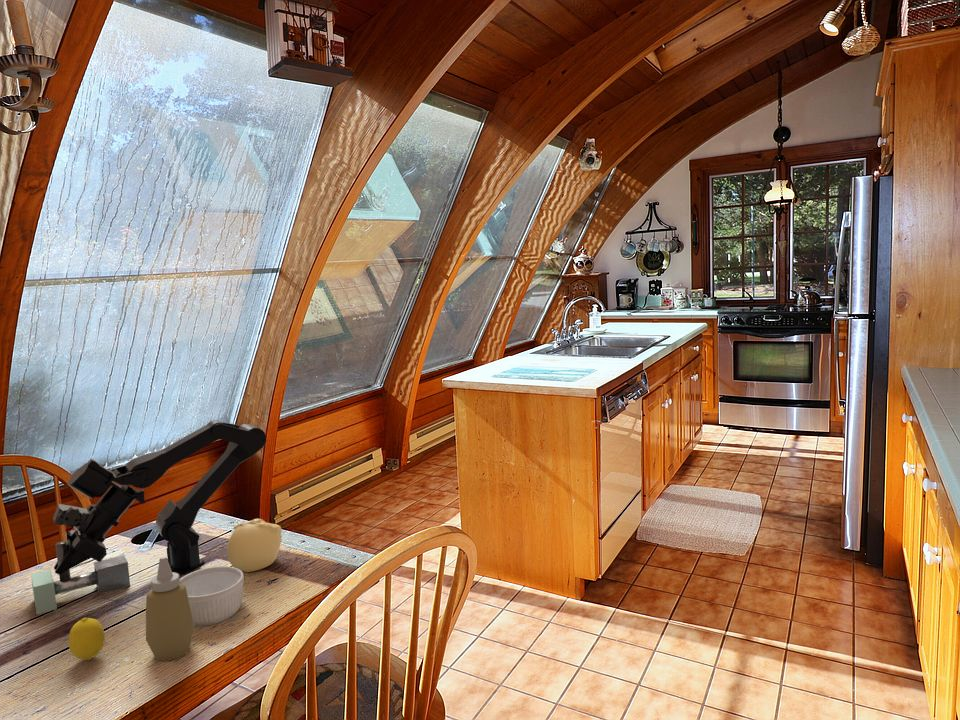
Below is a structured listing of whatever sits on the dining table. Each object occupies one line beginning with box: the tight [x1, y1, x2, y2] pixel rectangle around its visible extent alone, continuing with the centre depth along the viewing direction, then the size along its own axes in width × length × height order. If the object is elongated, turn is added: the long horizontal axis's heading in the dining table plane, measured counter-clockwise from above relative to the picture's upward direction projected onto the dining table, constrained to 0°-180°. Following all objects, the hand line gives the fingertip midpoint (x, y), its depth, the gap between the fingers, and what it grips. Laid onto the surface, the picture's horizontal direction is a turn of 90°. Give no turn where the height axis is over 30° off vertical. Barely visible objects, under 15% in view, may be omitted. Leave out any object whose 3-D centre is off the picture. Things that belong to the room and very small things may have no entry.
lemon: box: [68, 617, 106, 661], centre depth 119 cm, size 6×6×8 cm
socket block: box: [30, 568, 58, 615], centre depth 140 cm, size 4×8×6 cm, turn 37°
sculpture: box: [226, 518, 283, 573], centre depth 156 cm, size 11×12×11 cm
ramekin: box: [180, 565, 245, 627], centre depth 135 cm, size 13×13×7 cm
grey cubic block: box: [93, 554, 131, 595], centre depth 148 cm, size 6×5×6 cm
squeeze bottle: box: [145, 556, 195, 661], centre depth 120 cm, size 8×8×18 cm
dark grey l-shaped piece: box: [54, 540, 98, 596], centre depth 143 cm, size 12×3×11 cm, turn 127°
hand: (56, 571), depth 141 cm, fingers closed on dark grey l-shaped piece, 2 cm apart
